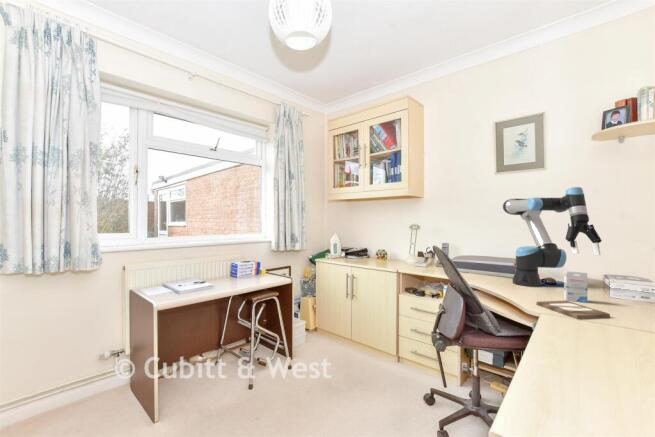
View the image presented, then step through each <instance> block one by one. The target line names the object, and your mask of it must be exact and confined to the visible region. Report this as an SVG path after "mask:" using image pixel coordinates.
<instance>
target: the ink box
mask: <svg viewBox="0 0 655 437" xmlns="http://www.w3.org/2000/svg"><path fill="white" fill-rule="evenodd" d="M563 298H564V300H566V301H569V302H576V303H577V302H578V303H588V273H587V272H582V271H581V272H577V271H566V275H564V276H563Z"/></svg>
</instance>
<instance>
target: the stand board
mask: <svg viewBox="0 0 655 437" xmlns="http://www.w3.org/2000/svg"><path fill="white" fill-rule="evenodd" d="M535 304H536V305H537V306H539V307H541V308H545V309H547V310H549V311H550V310H551V311H553V312H556V313H558V314H561V315H564V316H567V317H570V318H572V317H573V318H572V319H576V320H585V319H603V318H606V319H607V318H611V313H608V312H606V311H602V310H598V309H595V308H592V307H589V306H585V305H582V304H579V303H577V302H576V303H575V302H573V301H567V300H565V299H564V300H544V301H536V303H535Z"/></svg>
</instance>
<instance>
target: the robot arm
mask: <svg viewBox="0 0 655 437" xmlns="http://www.w3.org/2000/svg"><path fill="white" fill-rule="evenodd" d="M502 209H503V211H504V212H505V213H507V214H508V215H513V216H520V217H521V219H522V220H524V221H525V223H526V225H527V227H528V230H529V232H530V235H531V236H532V238H533V241H534V243H535V245H531V246H528V245H526V246H525V245H524V246H520V247H517V248H516V249H515V271H514V275H513V277H512V279H511V282H513V284H514V283H515V285H520V286H524V287H541V286H542V280H541V279H540V275H539V268H540V269H541V268H545V269H546V268H549V269H556V268H557V269H560V268H563V267H564V266H565V265H566V262H567V252H566V251H565V250H564V249H562V248H559V247H558V246H557V244H556V243H554V242H553V241H552V240H551V237H550V235H549V233H548V231H547V229H546V227H545V225H544V222H543V220H542V218H541V213H542V211H548V212H549V211H553V212H555V213H564V212H566V211H568V213H569V216H570V217H569V218H570V222H569V223H568V224H567V229H566V230H567V231H566V235H565V241H566V240H567V242H569V245H570V247H571V252H572V255H575V254H580V251H579V246H578V242H577V240H576V238H578V236H579V234H580V233H583V235H586V236H587V238H588V239H589V240H590V241H591V246H592V247H591V248H592V252H593V256H594V257H596V256H601V250H600V245H599V243H601V242H602V239H601V237H600V235H599V233H598V232H597V230H596V229H595V226H594V224H589V221H590V217H589V215H588V209H587V203H586V199H585V193H584V190H583V188H582V187H580V186H573V187H568V188H567V189H565V195H564V196H561V197H536V196H535V197H529V198H509V199H506V201H504V202H503V204H502Z"/></svg>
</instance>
